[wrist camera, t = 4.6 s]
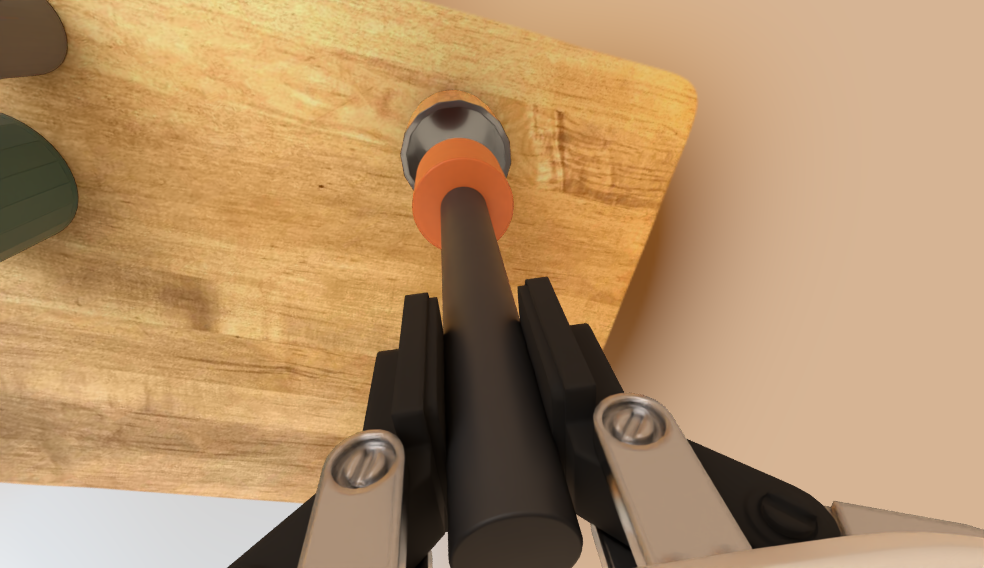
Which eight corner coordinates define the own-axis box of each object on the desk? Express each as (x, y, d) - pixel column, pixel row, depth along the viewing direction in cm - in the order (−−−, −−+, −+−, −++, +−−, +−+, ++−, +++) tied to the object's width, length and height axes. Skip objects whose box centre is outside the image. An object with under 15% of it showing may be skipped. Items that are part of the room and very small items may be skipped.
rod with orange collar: (408, 143, 22) (324, 482, 5) (498, 132, 22) (680, 429, 6) (423, 227, 24) (396, 652, 8) (505, 217, 24) (651, 608, 8)
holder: (399, 95, 34) (391, 107, 28) (494, 84, 35) (506, 94, 28) (416, 188, 38) (411, 217, 32) (502, 178, 38) (514, 204, 32)
